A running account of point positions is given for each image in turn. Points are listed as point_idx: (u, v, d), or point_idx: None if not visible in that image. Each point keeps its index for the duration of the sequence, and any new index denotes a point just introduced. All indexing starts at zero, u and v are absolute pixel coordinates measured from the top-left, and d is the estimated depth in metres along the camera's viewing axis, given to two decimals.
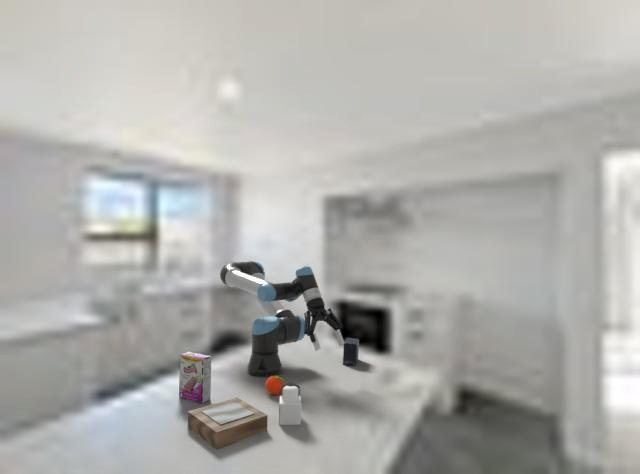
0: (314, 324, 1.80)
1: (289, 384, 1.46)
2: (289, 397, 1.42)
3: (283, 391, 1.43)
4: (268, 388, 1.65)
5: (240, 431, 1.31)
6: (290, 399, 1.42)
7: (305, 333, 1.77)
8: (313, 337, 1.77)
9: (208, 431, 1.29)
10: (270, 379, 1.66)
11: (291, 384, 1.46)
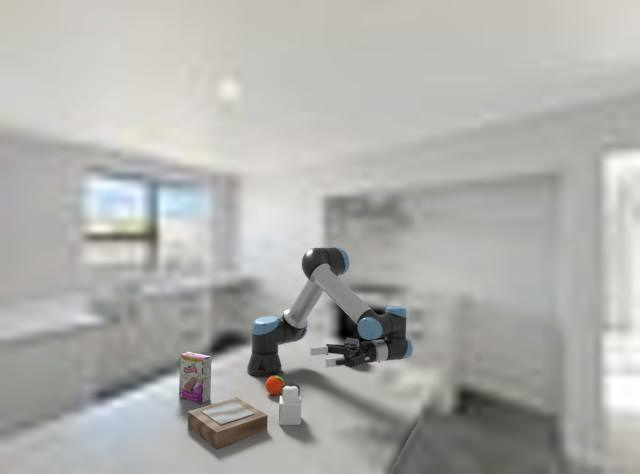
0: None
1: (289, 384, 1.46)
2: (289, 397, 1.42)
3: (283, 391, 1.43)
4: (268, 388, 1.65)
5: (240, 431, 1.31)
6: (290, 399, 1.42)
7: (351, 361, 1.42)
8: (340, 364, 1.44)
9: (208, 431, 1.29)
10: (270, 379, 1.66)
11: (291, 384, 1.46)
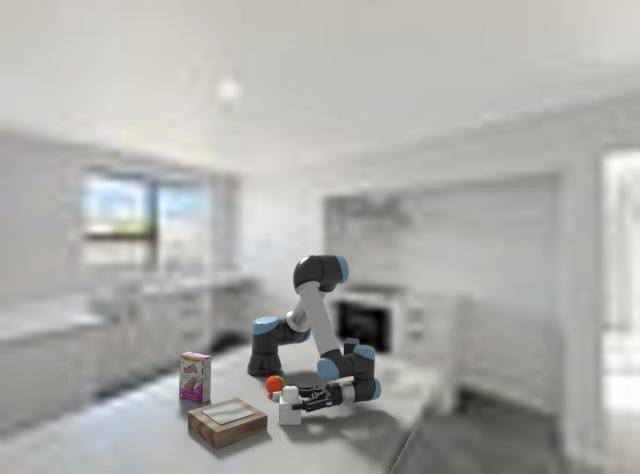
0: None
1: (289, 384, 1.46)
2: (289, 397, 1.42)
3: (283, 391, 1.43)
4: (268, 388, 1.65)
5: (240, 431, 1.31)
6: (290, 399, 1.42)
7: (307, 406, 1.39)
8: None
9: (208, 431, 1.29)
10: (270, 379, 1.66)
11: (291, 384, 1.46)
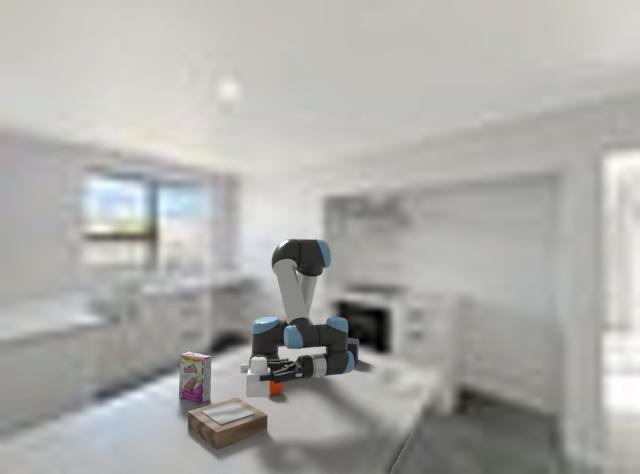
0: None
1: (258, 355, 1.40)
2: (257, 368, 1.37)
3: (251, 362, 1.38)
4: None
5: (240, 431, 1.31)
6: (258, 370, 1.37)
7: (275, 377, 1.34)
8: None
9: (208, 431, 1.29)
10: None
11: (260, 355, 1.40)
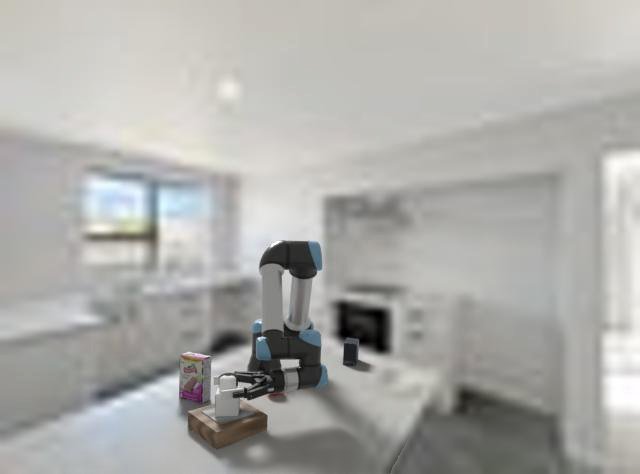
0: None
1: (227, 374, 1.39)
2: (225, 387, 1.35)
3: (220, 381, 1.36)
4: None
5: (240, 431, 1.31)
6: (227, 389, 1.35)
7: (248, 394, 1.31)
8: None
9: (208, 431, 1.29)
10: None
11: (229, 374, 1.39)
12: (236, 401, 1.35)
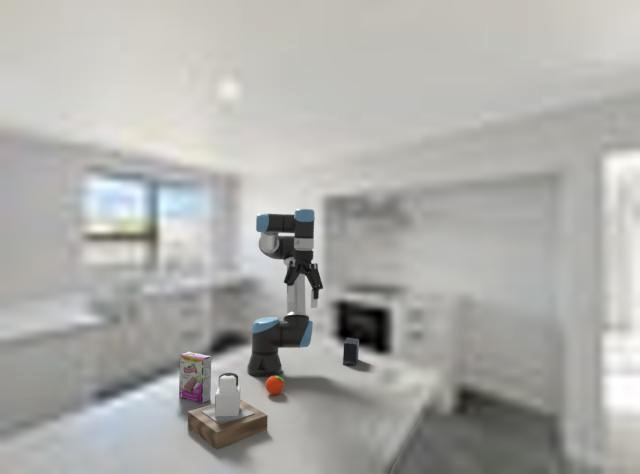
0: (291, 277, 1.70)
1: (227, 374, 1.39)
2: (225, 387, 1.35)
3: (220, 381, 1.36)
4: (268, 388, 1.65)
5: (240, 431, 1.31)
6: (227, 389, 1.35)
7: None
8: None
9: (208, 431, 1.29)
10: (270, 379, 1.66)
11: (229, 374, 1.39)
12: (236, 401, 1.35)
